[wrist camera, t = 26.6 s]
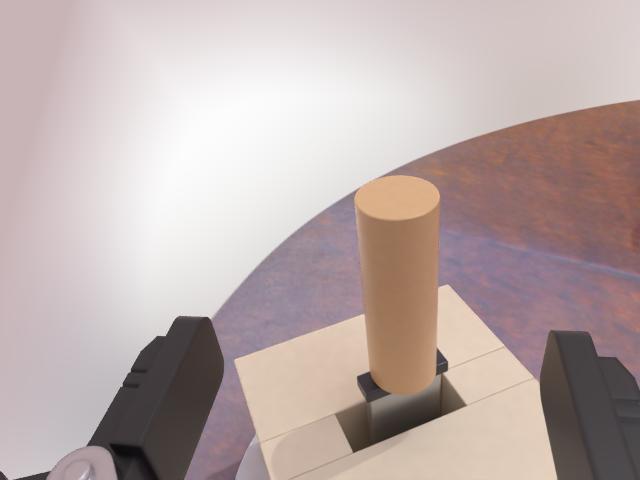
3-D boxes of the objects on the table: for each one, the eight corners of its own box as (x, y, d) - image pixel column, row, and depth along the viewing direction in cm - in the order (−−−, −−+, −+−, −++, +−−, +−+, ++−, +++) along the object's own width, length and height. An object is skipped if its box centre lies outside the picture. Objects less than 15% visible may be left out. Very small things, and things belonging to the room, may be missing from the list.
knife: (384, 513, 23) (360, 234, 14) (360, 464, 25) (326, 193, 16) (453, 481, 24) (472, 198, 15) (425, 437, 26) (426, 163, 17)
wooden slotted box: (338, 696, 20) (316, 630, 16) (259, 441, 29) (233, 359, 25) (591, 563, 23) (627, 477, 19) (444, 368, 32) (447, 283, 28)
